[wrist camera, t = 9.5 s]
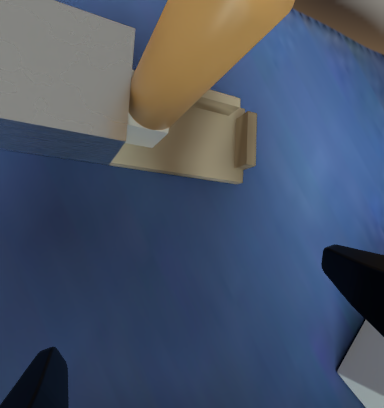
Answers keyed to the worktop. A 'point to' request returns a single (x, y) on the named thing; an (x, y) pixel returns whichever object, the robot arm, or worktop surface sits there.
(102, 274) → the worktop surface
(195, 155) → the cradle
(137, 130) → the orange upright rod
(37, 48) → the socket
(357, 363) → the milk carton
